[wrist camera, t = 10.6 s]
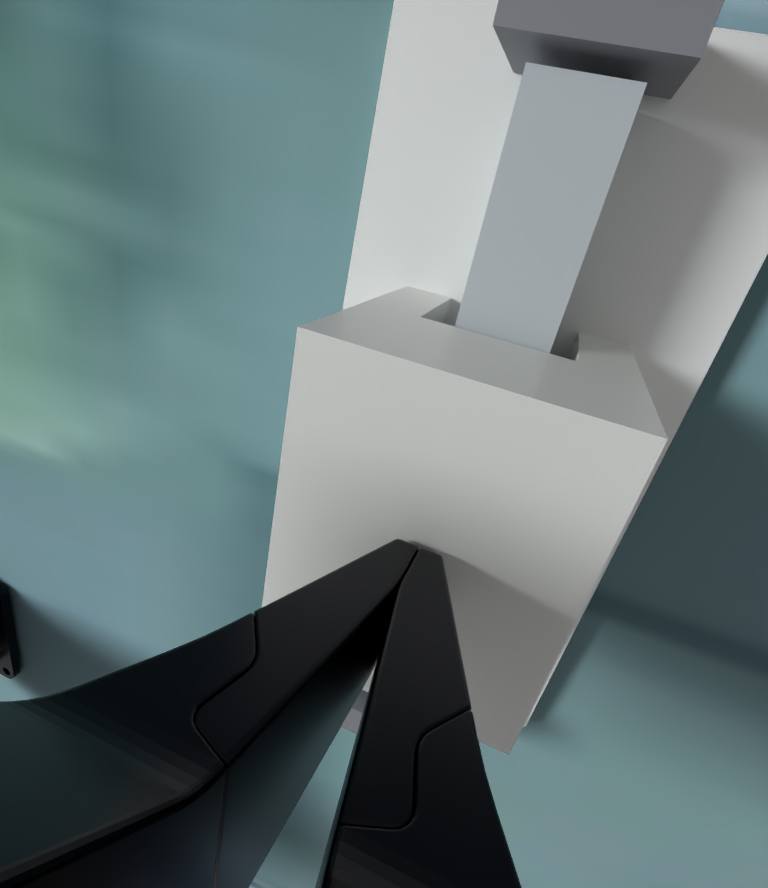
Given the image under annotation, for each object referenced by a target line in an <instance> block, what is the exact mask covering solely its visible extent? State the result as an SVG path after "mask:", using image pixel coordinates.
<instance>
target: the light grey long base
mask: <svg viewBox="0 0 768 888" xmlns="http://www.w3.org/2000/svg"><path fill="white" fill-rule="evenodd" d="M723 2H724V0H394V5H393V11H392V17H391V23H390V29H389V35H388V41H387V47H386V53H385V59H384V65H383V71H382V77H381V83H380V89H379V95H378V101H377V107H376V113H375V119H374V125H373V131H372V137H371V143H370V149H369V155H368V161H367V167H366V173H365V179H364V185H363V191H362V197H361V203H360V209H359V214H358V220H357V226H356V232H355V238H354V244H353V250H352V256H351V262H350V268H349V274H348V280H347V286H346V292H345V298H344V304H343V310H344V309H347V308H349V307H352V306H355V305H357V304H360V303H363V302H365V301H368V300H371V299H373V298H376V297H379V296H381V295H384V294H387V293H390V292H392V291H395V290H398V289H400V288H403V287H406V286H409V287H413V288H417V289H420V290H424V291H428V292H432V293H435V294H439V295H443V296H446V297H450V298H451V302H450V306H449V310H448V314H447V318H446V322H445V324H447V325H451V326H454V327H458V328H461V329H465V330H468V331H472V332H475V333H479V334H482V335H486V336H489V337H493V338H496V339H500V340H504V341H507V342H511V343H514V344H518V345H521V346H525V347H528V348H532V349H535V350H539V351H542V352H546V353H549V354H553V355H556V356H560V357H563V358H567V359H569V357H570V354H571V352H572V349H573V346H574V344H575V341H576V339H577V336H578V333H582V334H586V335H590V336H593V337H597V338H601V339H604V340H608V341H612V342H615V343H619V344H623V345H626V346H630V348H631V350H632V353H633V355H634V357H635V360H636V362H637V365H638V367H639V370H640V372H641V375H642V377H643V379H644V382H645V384H646V387H647V389H648V392H649V394H650V397H651V399H652V402H653V404H654V406H655V409H656V411H657V414H658V416H659V419H660V421H661V424H662V426H663V428H664V431H665V433H666V436H667V438H668V440H667V442H666V444H665V446H664V448H663V450H662V452H661V454H660V456H659V458H658V460H657V462H656V464H655V466H654V468H653V470H652V472H651V474H650V476H649V478H648V480H647V482H646V484H645V486H644V488H643V490H642V492H641V494H640V496H639V498H638V500H637V502H636V504H635V506H634V508H633V510H632V512H631V514H630V516H629V518H628V520H627V522H626V524H625V526H624V528H623V529H622V531H621V533H620V535H619V537H618V539H617V541H616V543H615V545H614V547H613V549H612V551H611V553H610V555H609V557H608V559H607V561H606V563H605V565H604V567H603V569H602V571H601V573H600V575H599V577H598V579H597V581H596V583H595V585H594V587H593V589H592V591H591V593H590V595H589V597H588V599H587V601H586V603H585V605H584V607H583V609H582V611H581V613H580V615H579V617H578V619H577V621H576V623H575V625H574V627H573V629H572V631H571V633H570V635H569V637H568V639H567V641H566V643H565V645H564V647H563V649H562V651H561V653H560V655H559V656H558V658H557V660H556V662H555V664H554V666H553V668H552V670H551V672H550V674H549V676H548V678H547V680H546V682H545V684H544V686H543V688H542V690H541V692H540V694H539V696H538V698H537V700H536V702H535V704H534V706H533V708H532V710H531V712H530V714H529V716H528V718H527V720H526V722H525V724H524V726H523V727H526V725H527V723H528V721H529V719H530V717H531V715H532V713H533V711H534V709H535V707H536V705H537V703H538V701H539V699H540V698H541V696H542V694H543V692H544V690H545V688H546V686H547V684H548V682H549V680H550V678H551V676H552V674H553V672H554V670H555V668H556V666H557V664H558V662H559V660H560V658H561V657H562V655H563V653H564V651H565V649H566V647H567V645H568V643H569V641H570V639H571V637H572V635H573V633H574V631H575V629H576V627H577V625H578V623H579V621H580V619H581V617H582V615H583V614H584V612H585V610H586V608H587V606H588V604H589V602H590V600H591V598H592V596H593V594H594V592H595V590H596V588H597V586H598V584H599V582H600V580H601V578H602V576H603V574H604V573H605V571H606V569H607V567H608V565H609V563H610V561H611V559H612V557H613V555H614V553H615V551H616V549H617V547H618V545H619V543H620V541H621V539H622V537H623V535H624V533H625V532H626V530H627V528H628V526H629V524H630V522H631V520H632V518H633V516H634V514H635V512H636V510H637V508H638V506H639V504H640V502H641V500H642V498H643V496H644V494H645V492H646V490H647V489H648V487H649V485H650V483H651V481H652V479H653V477H654V475H655V473H656V471H657V469H658V467H659V465H660V463H661V461H662V459H663V457H664V455H665V453H666V451H667V449H668V448H669V446H670V444H671V442H672V440H673V438H674V436H675V434H676V432H677V430H678V428H679V426H680V424H681V422H682V420H683V418H684V416H685V414H686V412H687V410H688V408H689V406H690V405H691V403H692V401H693V399H694V397H695V395H696V393H697V391H698V389H699V387H700V385H701V383H702V381H703V379H704V377H705V375H706V373H707V371H708V369H709V367H710V365H711V364H712V362H713V360H714V358H715V356H716V354H717V352H718V350H719V348H720V346H721V344H722V342H723V340H724V338H725V336H726V334H727V332H728V330H729V328H730V326H731V324H732V322H733V321H734V319H735V317H736V315H737V313H738V311H739V309H740V307H741V305H742V303H743V301H744V299H745V297H746V295H747V293H748V291H749V289H750V287H751V285H752V283H753V281H754V280H755V278H756V276H757V274H758V272H759V270H760V268H761V266H762V264H763V262H764V260H765V258H766V256H767V254H768V35H766V34H759V33H752V32H745V31H738V30H731V29H724V28H717V27H714V25H715V23H716V20H717V18H718V15H719V13H720V10H721V8H722V5H723ZM367 695H368V690H366V689H362V691H361V692H360V694H359V696H358V698H357V699H356V701H355V703H354V705H353V706H352V708H351V710H350V712H349V713H348V715H347V717H346V719H345V720H344V722H343V724H342V726H341V727H343V728H345V729H347V730H349V731H351V732H354V733H356V734H357V732H358V728H359V725H360V721H361V717H362V714H363V710H364V706H365V702H366V699H367Z"/></svg>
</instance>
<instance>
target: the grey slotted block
mask: <svg viewBox="0 0 768 888" xmlns="http://www.w3.org/2000/svg"><path fill="white" fill-rule="evenodd" d="M450 302H451V298H450V297H446V296H443V295H439V294H435V293H432V292H428V291H424V290H420V289H417V288H413V287H409V286H406V287H403V288H400V289H398V290H395V291H392V292H390V293H387V294H384V295H381V296H379V297H376V298H373V299H371V300H368V301H365V302H363V303H360V304H357V305H355V306H352V307H349V308H347V309H344V310H341V311H339V312H336V313H333V314H331V315H328V316H325V317H322V318H320V319H317V320H314V321H312V322H309V323H306V324H304V325H301V326H298V328H297V336H296V344H295V352H294V360H293V367H292V375H291V383H290V391H289V399H288V407H287V414H286V422H285V430H284V438H283V446H282V453H281V461H280V469H279V477H278V485H277V493H276V500H275V508H274V516H273V524H272V532H271V539H270V547H269V555H268V563H267V571H266V579H265V586H264V594H263V602H262V607H264V606H266V605H268V604H270V603H272V602H274V601H276V600H278V599H280V598H282V597H284V596H285V595H287V594H289V593H291V592H293V591H295V590H297V589H299V588H301V587H303V586H305V585H307V584H309V583H311V582H313V581H315V580H317V579H319V578H321V577H323V576H325V575H326V574H328V573H330V572H332V571H334V570H336V569H338V568H340V567H342V566H344V565H346V564H348V563H350V562H352V561H354V560H356V559H358V558H360V557H362V556H364V555H366V554H368V553H369V552H371V551H373V550H375V549H377V548H379V547H381V546H383V545H385V544H387V543H389V542H391V541H393V540H395V539H401V540H404V541H406V542H409V543H412V544H414V545H416V546H417V547H418V550H419V549H421V548H425V549H427V550H430V551H432V552H435V553H438V554H440V555H441V556H442V557H443V561H444V567H445V572H446V577H447V582H448V587H449V593H450V598H451V603H452V608H453V614H454V619H455V624H456V629H457V634H458V640H459V645H460V650H461V655H462V661H463V666H464V671H465V676H466V681H467V687H468V692H469V697H470V702H471V712H472V713H473V717H474V722H475V727H476V732H477V737H478V741H480V742H482V743H484V744H486V745H489V746H491V747H493V748H495V749H497V750H500V751H502V752H504V753H506V754H508V755H509V754H510V752H511V750H512V748H513V746H514V744H515V742H516V740H517V738H518V736H519V734H520V732H521V730H522V728H523V726H524V724H525V722H526V720H527V718H528V716H529V714H530V712H531V710H532V708H533V706H534V704H535V702H536V700H537V698H538V696H539V694H540V692H541V690H542V688H543V686H544V684H545V682H546V680H547V678H548V676H549V674H550V672H551V670H552V668H553V666H554V664H555V662H556V660H557V658H558V656H559V655H560V653H561V651H562V649H563V647H564V645H565V643H566V641H567V639H568V637H569V635H570V633H571V631H572V629H573V627H574V625H575V623H576V621H577V619H578V617H579V615H580V613H581V611H582V609H583V607H584V605H585V603H586V601H587V599H588V597H589V595H590V593H591V591H592V589H593V587H594V585H595V583H596V581H597V579H598V577H599V575H600V573H601V571H602V569H603V567H604V565H605V563H606V561H607V559H608V557H609V555H610V553H611V551H612V549H613V547H614V545H615V543H616V541H617V539H618V537H619V535H620V533H621V531H622V529H623V528H624V526H625V524H626V522H627V520H628V518H629V516H630V514H631V512H632V510H633V508H634V506H635V504H636V502H637V500H638V498H639V496H640V494H641V492H642V490H643V488H644V486H645V484H646V482H647V480H648V478H649V476H650V474H651V472H652V470H653V468H654V466H655V464H656V462H657V460H658V458H659V456H660V454H661V452H662V450H663V448H664V446H665V444H666V442H667V440H668V438H667V436H666V433H665V431H664V428H663V426H662V424H661V421H660V419H659V416H658V414H657V411H656V409H655V406H654V404H653V402H652V399H651V397H650V394H649V392H648V389H647V387H646V384H645V382H644V379H643V377H642V375H641V372H640V370H639V367H638V365H637V362H636V360H635V357H634V355H633V353H632V350H631V348H630V346H626V345H623V344H619V343H615V342H612V341H608V340H604V339H601V338H597V337H593V336H590V335H586V334H582V333H578V336H577V339H576V341H575V344H574V346H573V349H572V352H571V354H570V357H569V359H567V358H563V357H560V356H556V355H553V354H549V353H546V352H542V351H539V350H535V349H532V348H528V347H525V346H521V345H518V344H514V343H511V342H507V341H504V340H500V339H496V338H493V337H489V336H486V335H482V334H479V333H475V332H472V331H468V330H465V329H461V328H458V327H454V326H451V325H447V324H445V322H446V318H447V314H448V310H449V306H450ZM375 666H376V665H375ZM374 670H375V667H374V669H373V671H372V673H371V675H370V676H369V678H368V680H367V682H366V684H365V685H364V687H363V689H366V690H368V691H369V688H370V684H371V680H372V677H373V673H374Z"/></svg>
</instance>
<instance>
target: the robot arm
mask: <svg viewBox="0 0 768 888" xmlns="http://www.w3.org/2000/svg"><path fill="white" fill-rule="evenodd" d="M375 665H376V666H375ZM374 667H375V670H374V673H373V677H372V680H371V684H370V688H369V691H368V695H367V699H366V702H365V706H364V710H363V714H362V717H361V721H360V725H359V728H358V732H357V736H356V739H355V743H354V747H353V750H352V754H351V758H350V761H349V765H348V769H347V773H346V776H345V780H344V784H343V787H342V791H341V795H340V798H339V802H338V806H337V809H336V813H335V817H334V820H333V824H332V828H331V831H330V835H329V839H328V843H327V846H326V850H325V854H324V857H323V861H322V865H321V868H320V872H319V876H318V879H317V883H316V887H315V888H521V885H520V882H519V878H518V875H517V872H516V869H515V866H514V863H513V860H512V857H511V854H510V850H509V847H508V844H507V841H506V838H505V835H504V832H503V829H502V826H501V822H500V819H499V816H498V813H497V810H496V806H495V803H494V799H493V796H492V793H491V789H490V786H489V782H488V779H487V776H486V772H485V768H484V764H483V759H482V755H481V750H480V746H479V742H478V737H477V732H476V727H475V722H474V717H473V713H472V712H471V702H470V697H469V692H468V687H467V681H466V676H465V671H464V666H463V661H462V655H461V650H460V645H459V640H458V634H457V629H456V624H455V619H454V614H453V608H452V603H451V598H450V593H449V587H448V582H447V577H446V572H445V567H444V561H443V557H442V556H441V555H440V554H438V553H435V552H432V551H430V550H427V549H425V548H421V549H419V550H418V547H417V546H416V545H414V544H412V543H409V542H406V541H404V540H401V539H395V540H393V541H391V542H389V543H387V544H385V545H383V546H381V547H379V548H377V549H375V550H373V551H371V552H369V553H368V554H366V555H364V556H362V557H360V558H358V559H356V560H354V561H352V562H350V563H348V564H346V565H344V566H342V567H340V568H338V569H336V570H334V571H332V572H330V573H328V574H326V575H325V576H323V577H321V578H319V579H317V580H315V581H313V582H311V583H309V584H307V585H305V586H303V587H301V588H299V589H297V590H295V591H293V592H291V593H289V594H287V595H285V596H284V597H282V598H280V599H278V600H276V601H274V602H272V603H270V604H268V605H266V606H264V607H262V608H260V609H258V610H256V611H255V612H254V615H253V614H252V613H250V614H248V615H246V616H244V617H242V618H240V619H238V620H236V621H234V622H232V623H230V624H228V625H226V626H224V627H222V628H220V629H218V630H216V631H213V632H211V633H209V634H207V635H205V636H203V637H201V638H198V639H196V640H194V641H191V642H189V643H186V644H184V645H181V646H179V647H177V648H174V649H172V650H169V651H167V652H165V653H162V654H159V655H157V656H154V657H152V658H149V659H146V660H144V661H141V662H139V663H136V664H134V665H131V666H128V667H126V668H123V669H121V670H118V671H115V672H113V673H110V674H108V675H105V676H103V677H100V678H97V679H95V680H92V681H90V682H87V683H84V684H82V685H79V686H77V687H74V688H71V689H68V690H65V691H62V692H59V693H56V694H52V695H48V696H44V697H40V698H34V699H29V700H21V701H3V702H0V888H249V886H250V884H251V882H252V881H253V879H254V877H255V875H256V874H257V872H258V870H259V868H260V867H261V865H262V863H263V862H264V860H265V858H266V856H267V855H268V853H269V851H270V849H271V848H272V846H273V844H274V842H275V841H276V839H277V837H278V835H279V834H280V832H281V830H282V828H283V827H284V825H285V823H286V821H287V820H288V818H289V816H290V814H291V813H292V811H293V809H294V807H295V806H296V804H297V802H298V800H299V799H300V797H301V795H302V794H303V792H304V790H305V788H306V787H307V785H308V783H309V781H310V780H311V778H312V776H313V774H314V773H315V771H316V769H317V767H318V766H319V764H320V762H321V760H322V759H323V757H324V755H325V753H326V752H327V750H328V748H329V746H330V745H331V743H332V741H333V739H334V738H335V736H336V734H337V733H338V731H339V729H340V727H341V726H342V724H343V722H344V720H345V719H346V717H347V715H348V713H349V712H350V710H351V708H352V706H353V705H354V703H355V701H356V699H357V698H358V696H359V694H360V692H361V691H362V689H363V687H364V685H365V684H366V682H367V680H368V678H369V676H370V675H371V673H372V671H373V669H374ZM19 673H20V664H19V658H18V652H17V645H16V639H15V633H14V627H13V621H12V615H11V609H10V603H9V597H8V593H7V591H6V590H5V588H4V587H3V586H1V585H0V674H2V675H4V676H5V677H7V678H10V679H12V678H14V677H15V676H16V675H17V674H19Z"/></svg>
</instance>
